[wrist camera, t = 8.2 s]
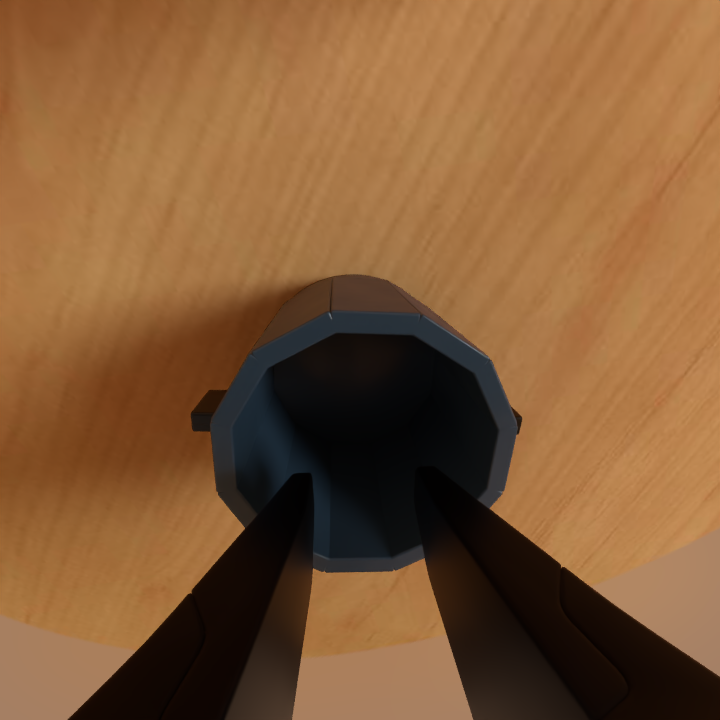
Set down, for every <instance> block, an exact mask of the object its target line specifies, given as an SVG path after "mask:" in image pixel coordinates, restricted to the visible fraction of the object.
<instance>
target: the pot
mask: <svg viewBox="0 0 720 720" xmlns="http://www.w3.org/2000/svg"><path fill="white" fill-rule="evenodd" d="M191 421H192V429H193V431H208V432H211V441H212V451H213V462H214V472H215V482H216V491H217V492H218V495H219V497H220V498H221V499H222V500H223V501H224V503H225V504H226V505H227V506H228V508H229V509H230V510H231V511H232V512H233V514H234V515H235V516H236V517H237V519H238V520H239V521H240V522H241V523H242V525H243V526H244V527H245V528H246V527H247V526H248V525H249V524H250V522H251V521H252V520H253V519H254V518H255V517H256V516H257V514H258V513H259V512H260V511H261V510H262V509H263V507H264V506H265V505H266V504H267V503H268V502H269V501H270V499H271V498H272V497H273V496H274V495H275V494H276V493H277V491H278V490H279V489H280V488H281V487H282V486H283V484H284V483H285V482H286V481H287V480H288V479H289V478H290V476H291V475H292V474H294V473H307V472H309V473H311V474H312V479H313V492H314V543H313V568H314V569H316V570H319V571H321V572H324V571H325V572H326V573H333V572H383V571H393V570H398V569H401V568H403V567H405V566H408V565H410V564H412V563H414V562H417V561H419V560H421V559H423V558H425V556H424V551H423V546H422V541H421V536H420V531H419V525H418V520H417V515H416V510H415V503H414V487H415V470H416V468H417V467H419V466H435V467H436V468H438V469H439V470H440V471H441V472H443V473H444V474H445V475H447V476H448V477H449V478H450V479H452V480H453V481H454V482H456V483H457V484H458V485H459V486H461V487H462V488H463V489H465V490H466V491H467V492H468V493H470V494H471V495H472V496H474V497H475V498H476V499H477V500H479V501H480V502H481V503H483V504H484V505H485V506H486V507H488V508H490V507H491V506H492V505H493V504H494V503H495V501H496V500H497V499H498V498H499V497H500V496H501V495H502V493H503V492H502V491H504V490H505V485H506V481H507V476H508V471H509V467H510V462H511V457H512V453H513V448H514V444H515V439H516V435H517V434H519V431H520V427H521V422H522V417H521V416H520V415H519V414H518V413H517V412H516V411H515V410H514V409H513V408H512V407H511V406H510V404H509V401H508V399H507V397H506V394H505V392H504V389H503V387H502V384H501V382H500V380H499V377H498V375H497V372H496V370H495V367H494V365H493V362H492V361H491V360H490V358H489V357H488V356H487V355H486V354H485V353H483V352H482V351H481V350H480V349H479V348H477V347H476V346H475V345H474V344H472V343H471V342H470V341H469V340H468V339H466V338H465V337H464V336H463V335H461V334H460V333H459V332H458V331H456V330H455V329H454V328H453V327H452V326H450V325H449V324H448V323H447V322H445V321H444V320H443V319H442V318H441V317H439V316H438V315H437V314H436V313H434V312H433V311H432V310H431V309H430V308H428V307H427V306H425V305H424V304H422V303H421V302H419V301H418V300H416V299H415V298H413V297H412V296H411V295H409V294H408V293H407V292H405V291H404V290H403V289H401V288H400V287H398V286H396V285H394V284H392V283H391V282H389V281H388V280H384V279H380V278H376V277H372V276H366V275H341V276H334V277H330V278H327V279H324V280H321V281H318V282H316V283H314V284H312V285H310V286H308V287H307V288H305V289H303V290H302V291H300V292H299V293H298V294H297V295H295V296H294V297H293V298H292V299H290V300H288V301H286V303H285V304H283V306H282V307H281V308H280V310H279V311H278V313H277V314H276V316H275V317H274V318H273V320H272V321H271V323H270V324H269V325H268V327H267V328H266V330H265V331H264V333H263V334H262V335H261V337H260V338H259V340H258V341H257V343H256V344H255V345H254V347H253V348H252V350H251V351H250V352H249V354H248V355H247V357H246V359H245V361H244V362H243V364H242V366H241V368H240V369H239V371H238V373H237V374H236V376H235V378H234V380H233V381H232V383H231V385H230V387H229V388H228V390H209V391H208V392H207V393H206V395H205V396H204V397H203V398H202V400H201V401H200V402H199V403H198V405H197V406H196V407H195V408H194V410H193V411H192V412H191Z"/></svg>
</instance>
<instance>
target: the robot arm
mask: <svg viewBox="0 0 720 720" xmlns="http://www.w3.org/2000/svg"><path fill="white" fill-rule="evenodd" d="M414 503H415V510H416V515H417V520H418V525H419V531H420V536H421V541H422V546H423V551H424V556H425V562H426V566H427V571H428V575H429V578H430V582H431V586H432V589H433V592H434V595H435V598H436V601H437V605H438V608H439V611H440V614H441V617H442V621H443V624H444V627H445V630H446V633H447V636H448V640H449V643H450V646H451V649H452V652H453V656H454V659H455V662H456V665H457V668H458V672H459V675H460V678H461V681H462V685H463V688H464V691H465V694H466V697H467V700H468V704H469V707H470V710H471V713H472V717H473V720H720V677H719V676H718V675H716V674H715V673H713V672H712V671H710V670H709V669H707V668H706V667H705V666H703V665H702V664H700V663H699V662H697V661H696V660H694V659H693V658H691V657H690V656H688V655H687V654H685V653H684V652H682V651H681V650H679V649H678V648H676V647H675V646H673V645H672V644H670V643H669V642H667V641H666V640H664V639H663V638H661V637H660V636H658V635H657V634H656V633H654V632H653V631H651V630H650V629H648V628H647V627H645V626H644V625H643V624H641V623H640V622H638V621H637V620H635V619H634V618H633V617H631V616H630V615H628V614H627V613H625V612H624V611H622V610H621V609H619V608H618V607H617V606H615V605H614V604H613V603H611V602H610V601H609V600H607V599H606V598H605V597H603V596H602V595H600V594H599V593H598V592H596V591H595V590H594V589H593V588H591V587H590V586H589V585H587V584H586V583H585V582H583V581H582V580H581V579H579V578H578V577H577V576H575V575H574V574H573V573H572V572H570V571H569V570H568V569H566V568H565V567H562V568H561V565H560V563H558V562H557V561H556V560H555V559H553V558H552V557H551V556H549V555H548V554H547V553H546V552H544V551H543V550H542V549H540V548H539V547H538V546H537V545H535V544H534V543H533V542H531V541H530V540H529V539H528V538H526V537H525V536H524V535H522V534H521V533H520V532H519V531H517V530H516V529H515V528H513V527H512V526H511V525H510V524H508V523H507V522H506V521H504V520H503V519H502V518H501V517H499V516H498V515H497V514H495V513H494V512H493V511H492V510H490V509H489V508H488V507H486V506H485V505H484V504H483V503H481V502H480V501H479V500H477V499H476V498H475V497H474V496H472V495H471V494H470V493H468V492H467V491H466V490H465V489H463V488H462V487H461V486H459V485H458V484H457V483H456V482H454V481H453V480H452V479H450V478H449V477H448V476H447V475H445V474H444V473H443V472H441V471H440V470H439V469H438V468H436V467H435V466H419V467H417V468H416V470H415V487H414ZM313 543H314V492H313V479H312V474H311V473H309V472H307V473H294V474H292V475H291V476H290V478H289V479H288V480H287V481H286V482H285V483H284V484H283V486H282V487H281V488H280V489H279V490H278V491H277V493H276V494H275V495H274V496H273V497H272V498H271V499H270V501H269V502H268V503H267V504H266V505H265V506H264V507H263V509H262V510H261V511H260V512H259V513H258V514H257V516H256V517H255V518H254V519H253V520H252V521H251V522H250V524H249V525H248V526H247V527H246V528H245V529H244V531H243V532H242V533H241V534H240V535H239V536H238V537H237V539H236V540H235V541H234V542H233V543H232V544H231V546H230V547H229V548H228V549H227V550H226V551H225V552H224V554H223V555H222V556H221V557H220V558H219V559H218V561H217V562H216V563H215V564H214V565H213V566H212V567H211V569H210V570H209V571H208V572H207V573H206V574H205V575H204V577H203V578H202V579H201V580H200V581H199V582H198V584H197V585H196V586H195V587H194V588H193V589H192V594H191V593H190V594H188V595H187V596H186V597H185V598H184V599H183V601H182V602H181V603H180V604H179V605H178V606H177V607H176V609H175V610H174V611H173V612H172V613H171V614H170V615H169V616H168V618H167V619H166V620H165V621H164V622H163V623H162V624H161V625H160V626H159V628H158V629H157V630H156V631H155V632H154V633H153V634H152V635H151V636H150V637H149V639H148V640H147V641H146V642H145V643H144V644H143V645H142V646H141V647H140V648H139V649H138V650H137V651H136V652H135V653H134V654H133V655H132V656H131V657H130V658H129V659H128V660H127V661H126V662H125V663H124V664H123V665H122V666H121V667H120V668H119V669H118V670H117V671H116V673H114V674H113V675H112V677H111V678H109V679H108V680H107V681H106V682H105V683H104V684H103V685H102V686H101V687H100V688H99V689H98V690H97V691H96V692H95V693H94V694H93V695H92V696H91V697H90V698H89V699H88V700H87V701H86V702H85V703H84V704H83V705H82V706H81V707H80V708H79V709H78V710H77V711H76V712H75V713H74V714H73V715H72V716H71V717H70V718H69V719H68V720H292V715H293V707H294V702H295V695H296V688H297V681H298V675H299V667H300V661H301V654H302V647H303V641H304V634H305V627H306V620H307V614H308V607H309V600H310V593H311V585H312V572H313Z"/></svg>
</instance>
